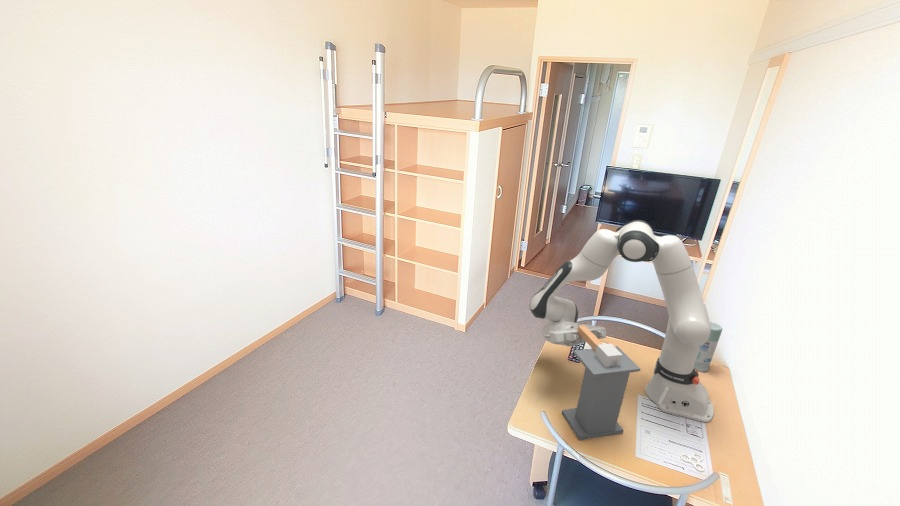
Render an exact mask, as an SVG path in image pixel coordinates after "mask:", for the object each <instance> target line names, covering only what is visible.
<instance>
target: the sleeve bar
mask: <svg viewBox="0 0 900 506" xmlns="http://www.w3.org/2000/svg"><path fill="white" fill-rule="evenodd" d="M577 331H578V334H579V335H580V336H581V337H582V338H583V339H584V340H585V341H586V342H585V343H587V344H588V345H589V347H590V349H593V350H594V351H595V352H596V353H595V356H596V357H597V358H598V359H599V361H600V362H601V363H602V364H603V365H604V366H605V367H612V366H620V363H621V359H622V354H621V353H620V352H619V351H618V350H617V349H616V348H615V347H614V346H615V345H614V344H612V343H603V342H602V341H601V339H598V338H597V337H596V336H595V335H594V334H593V333H592V332H591V331H590V330H589V329H588V328H587V327H586V326H585V325H580V326H578V329H577Z"/></svg>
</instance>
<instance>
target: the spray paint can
mask: <svg viewBox="0 0 900 506" xmlns="http://www.w3.org/2000/svg"><path fill="white" fill-rule="evenodd" d="M710 324H711V332H710V336H709V339H708V340H707V341H706V342H705V343H704V344H702V345H700V346H699V353H698V356H697V359H696V362H695V365H694V369H695V371H696V369H697V371H698V372H701V373H706V372H708V370H709V368H710V365H711V362H712V360H713V357H714V354H715V351H716V349H717V346H718V344H719V340H720V337H721V335H722V331H723V327H722V326H721V325H720V324H717V323H715V322H712V321H710Z"/></svg>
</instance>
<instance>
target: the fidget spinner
mask: <svg viewBox="0 0 900 506" xmlns="http://www.w3.org/2000/svg"><path fill="white" fill-rule="evenodd" d="M696 456H697V457H699V458H697V457H696ZM684 457H686V458H687V459H685V458H684ZM679 458H680V460H681V461H683V462H684V461H685V463H689V464H691V465H693V468H694V470H696V471H697V472H699V473H704V472H705V471H706V470H705V467H704V466H703V465H702V464H701V462H703V460H704V459H703V457H702V455H701V454H699V453H696V452H695V453H692V454H691V455H688V454H686V453H682V454H680V455H679ZM693 460H695V461H696V462H694V461H693ZM697 466H698V467H701V468H698V467H697Z"/></svg>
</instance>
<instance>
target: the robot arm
mask: <svg viewBox="0 0 900 506" xmlns="http://www.w3.org/2000/svg"><path fill="white" fill-rule="evenodd" d="M619 255H620V256H621V257H622V258H623V259H624V260H626V261H628V262H632V263H639V262H640V263H641V262H649V263H650V262H651V263H652V264H653V267H654V270H655V273H656V277H657V279H658V282H659V286H660V289H661V291H662V294H663V298H664V302H665V306H666V310H667V314H668V320H667V325H666V330H665V335H664V339H663V343H662V347H661V350H660V355H659V357H658V358H657V360H656V362H655V366H654V369H653V375H652V377H651V379H650V381H648V383H647V385H646V386H645V388H644V390H645V393H646V396H647V397H648V399H650V400H651V401H652V402H654V403H655V405H656V406H657V407H658V409H659V410H661V411H662V412H664V413H665V412H666V413H668V414H673V415H676V416H680V417H684V418H688V419H691V420H695V421H697V422H698V421H699V422H703V423H709V422H711V421H712V420H713V417H714V411H715V408H714V405H713V403H712V401H711V399H710V397H709V396H710V395H709V392H708V389H707V388H706V387H705V386H704V385H703V384H702V382H700V378H699V373H698V372H699V371H697V369H696V370H695V369H694V365H695V362H696V359H697V356H698V353H699V346H700V345H702V344H704V343H705V342H706V341H707V340H708V339H709V336H710V332H711V324H710V322H711V321H710V318H709V317H710V316H709V313H708V310H707V306H706V304H705V303H704V298H703V295H702V292H701V289H700V286H699V281H698V280H697V276H696V273H695V269H694V266H693V262H692V260H691V257H690V255H689V252H688V250H687V249H686V246H685V244H684V243H683V241H682V240H681V239H680V237H678V236H676V235H670V234H667V235H662V236H658V235H655V232H654V229H653V226H651V224H650V223H649V222H647V221H645V220H641V219H635V220H634V219H633V220H631V221H629V222H627V223H625V224H623V225H621V226H619V227H617V229H616V230H615V231H613V230H610V229H606V228H601V229H598V230H597V231H595V232H594V233H593V234H592V236H591V237H590V238H589V239H588V240H587V242H586V243H585V244H584V246H583V248H582V249H581V251H580V252H579V253H578V254H577V255H576V256H575V257H574V258H572V259H571V260H569V261H566V262H564V263H562V264H561V265H560V266H559V268H557V269H556V271H555V272H554V273H553V274H552V276H551V277H550V278H549V279H548V280H547V282H545V283H544V285H543V286H542V288H541V289H540V290H538V291H537V292H536V293H535V294H534V295H533V296H532V297H531V299H530V302H529V310H530V312H531V314H532V315H533V317H535V318H537V319H543V320H547V322H546V323H544V324H543V326H542V327H541V336H542V337H543V339H544V340H545V341H546V342H548V343H550V344H554V345H558V346H559V345H560V346H563V347H564V346H565V347H575V346H577V345H580V344H583V343H587V342H586V341H585V340H584V339H583V338H582V337H581V336H580V335H579V334H578V331H577V329H578V326H580V325H585V326H586V327H587V328H588V329H589V330H590V331H591V332H592V333H593V334H594V335H595V336H596V337H597V338H598V339H599V340H602V339H606V338H607V331H606V328H605V327H604V326H599V325H592V324H591V323H581V322H580V323H578V319H579V310H578V306H577V303H575V301H573V300H570V299H567V298H563V297H560V296H556V295H557V293H558V292H559V291H560V290H561V288H562V287H564V285H566V284H569V283H571V282H582V281H583V282H584V281H585V282H587V281H588V282H590V281H595V280H597V279H600V278H601V277H602V276H603V275H604V274H605V273H606V272H607V271H608V269H609V267H610V266H611V264H612V262H613V261H614V259H615V258H616V257H617V256H619Z"/></svg>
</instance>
